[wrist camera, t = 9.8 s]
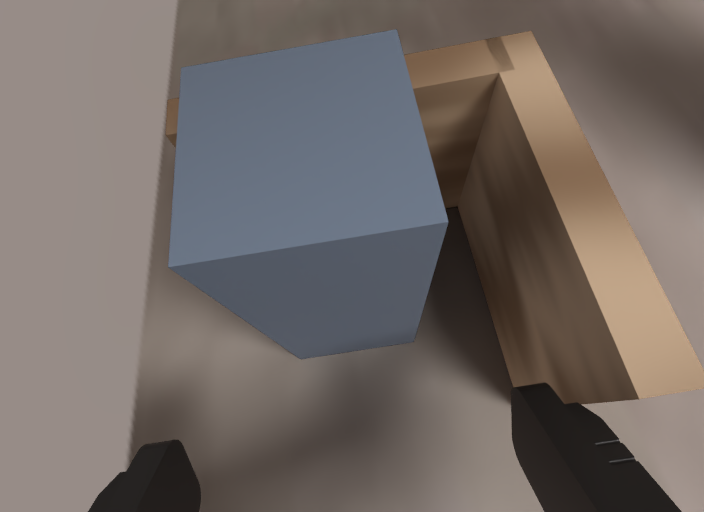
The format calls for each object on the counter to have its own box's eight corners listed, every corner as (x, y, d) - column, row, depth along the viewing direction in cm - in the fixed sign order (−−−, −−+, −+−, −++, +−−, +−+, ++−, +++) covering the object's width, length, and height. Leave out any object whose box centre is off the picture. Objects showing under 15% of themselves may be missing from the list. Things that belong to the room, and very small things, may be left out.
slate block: (393, 239, 19) (397, 29, 9) (413, 341, 17) (448, 221, 7) (292, 256, 19) (181, 67, 9) (300, 359, 17) (168, 267, 7)
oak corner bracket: (557, 403, 15) (712, 387, 8) (261, 452, 16) (145, 480, 8) (479, 176, 20) (531, 30, 12) (249, 217, 20) (167, 99, 13)
